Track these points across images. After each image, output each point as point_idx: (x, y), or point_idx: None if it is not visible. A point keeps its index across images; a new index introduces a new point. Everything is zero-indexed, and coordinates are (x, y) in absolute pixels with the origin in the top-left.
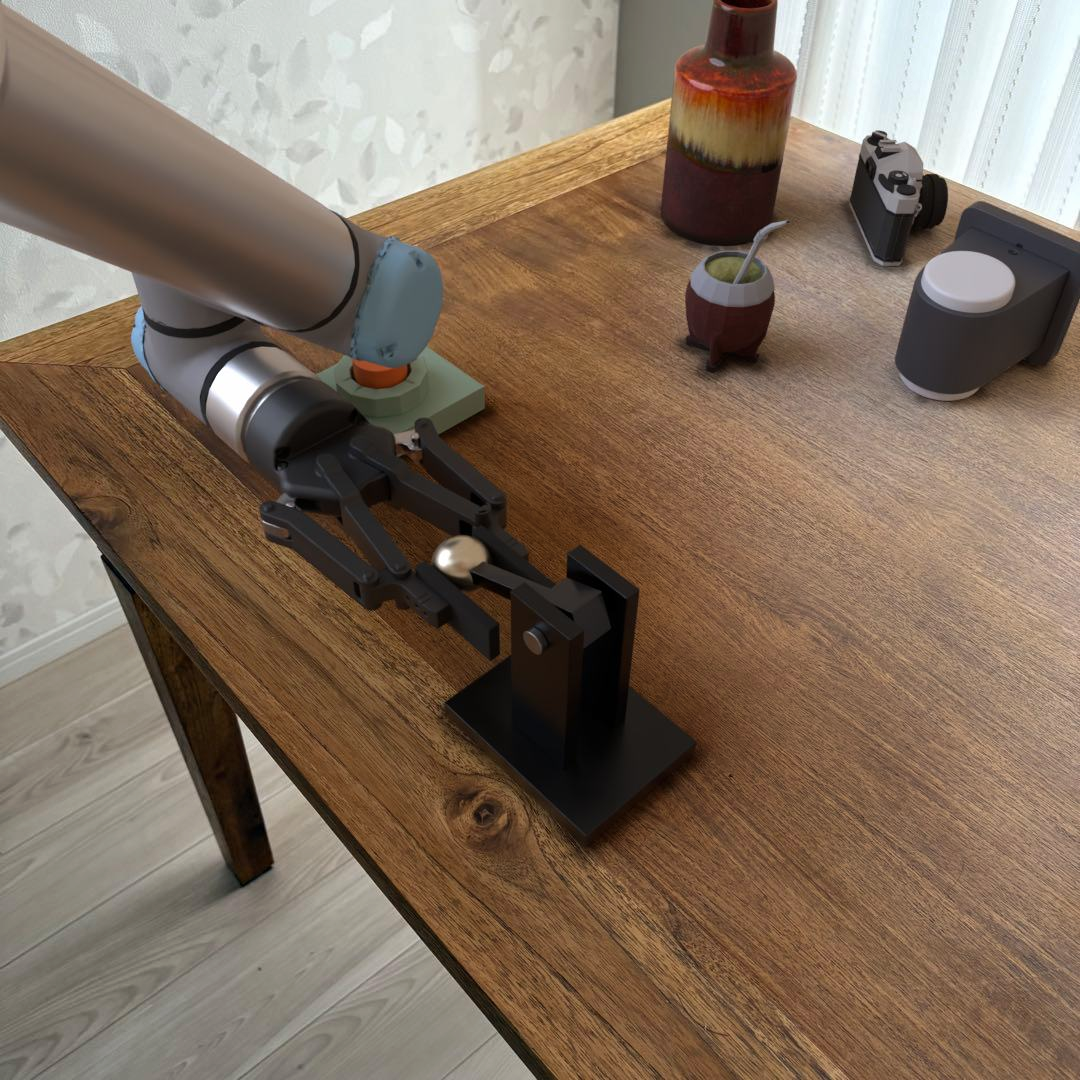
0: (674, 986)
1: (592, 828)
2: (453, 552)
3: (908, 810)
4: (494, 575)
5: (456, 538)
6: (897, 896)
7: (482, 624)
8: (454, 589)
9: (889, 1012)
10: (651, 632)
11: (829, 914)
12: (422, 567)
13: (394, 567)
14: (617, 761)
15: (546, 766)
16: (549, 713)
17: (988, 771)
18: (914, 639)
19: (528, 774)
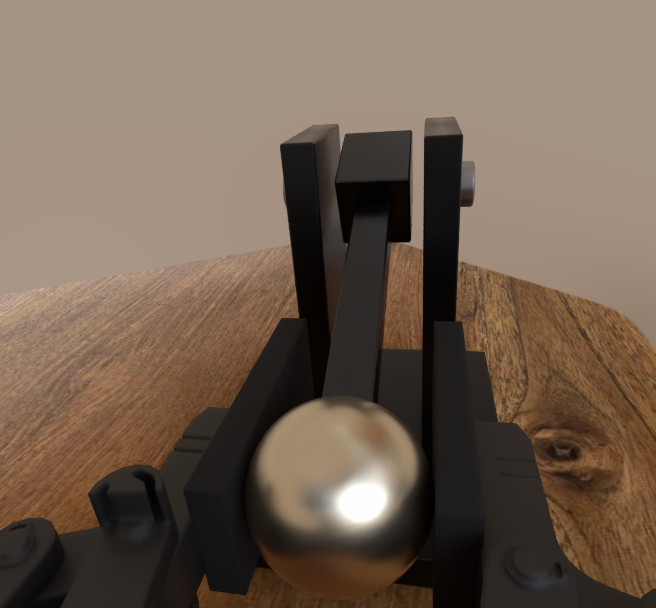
0: (503, 303)
1: (472, 351)
2: (370, 417)
3: (262, 287)
4: (363, 328)
5: (315, 443)
6: None
7: (462, 331)
8: (444, 401)
9: (402, 259)
10: (157, 468)
11: None
12: (465, 500)
13: (555, 579)
14: (388, 372)
15: None
16: None
17: (202, 278)
18: (79, 328)
19: (488, 412)
